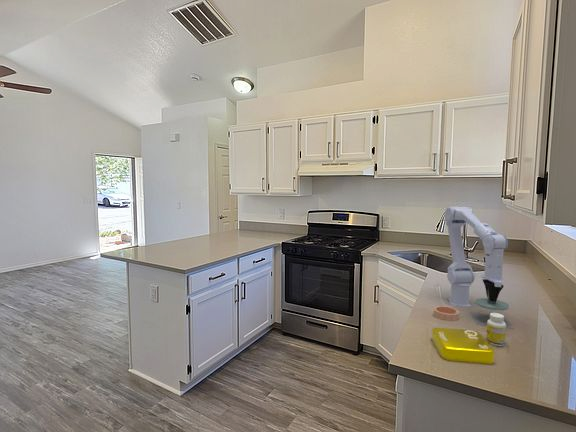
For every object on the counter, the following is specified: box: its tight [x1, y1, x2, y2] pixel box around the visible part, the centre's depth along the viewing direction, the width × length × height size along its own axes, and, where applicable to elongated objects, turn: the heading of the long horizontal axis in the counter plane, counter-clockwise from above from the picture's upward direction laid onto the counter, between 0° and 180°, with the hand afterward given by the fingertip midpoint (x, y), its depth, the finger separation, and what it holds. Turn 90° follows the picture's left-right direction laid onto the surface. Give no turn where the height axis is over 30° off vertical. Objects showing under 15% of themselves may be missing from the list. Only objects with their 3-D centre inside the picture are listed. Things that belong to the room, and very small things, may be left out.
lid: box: [474, 293, 510, 311], centre depth 125 cm, size 11×11×6 cm
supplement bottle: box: [486, 312, 507, 347], centre depth 108 cm, size 5×5×10 cm
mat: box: [470, 312, 515, 330], centre depth 126 cm, size 12×12×1 cm
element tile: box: [431, 327, 495, 365], centre depth 104 cm, size 15×15×5 cm
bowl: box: [432, 305, 460, 322], centre depth 130 cm, size 9×9×3 cm
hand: (491, 299), depth 125 cm, fingers closed on lid, 3 cm apart
